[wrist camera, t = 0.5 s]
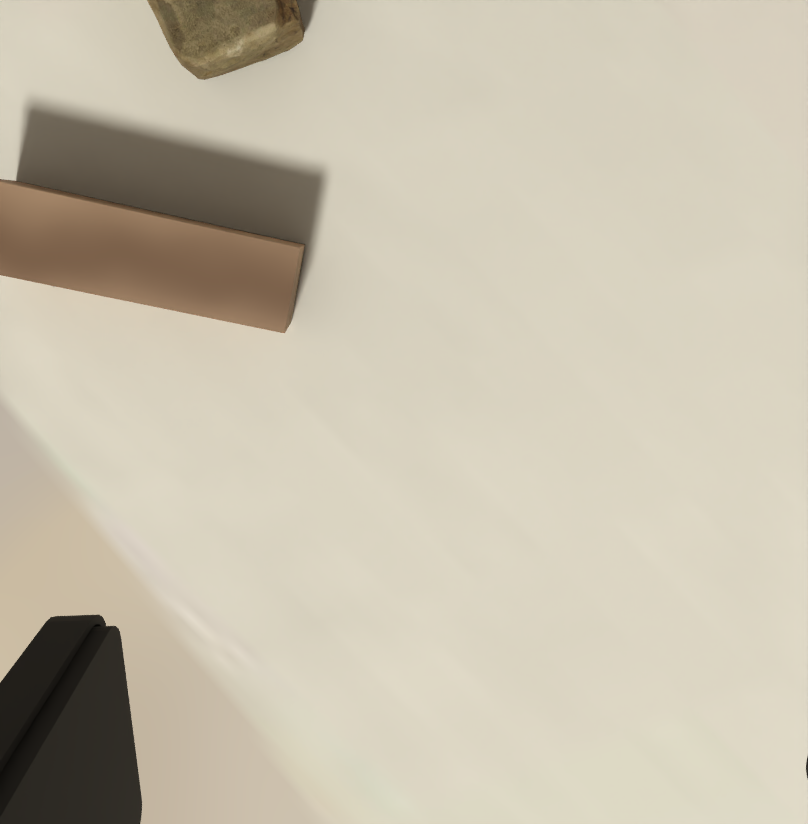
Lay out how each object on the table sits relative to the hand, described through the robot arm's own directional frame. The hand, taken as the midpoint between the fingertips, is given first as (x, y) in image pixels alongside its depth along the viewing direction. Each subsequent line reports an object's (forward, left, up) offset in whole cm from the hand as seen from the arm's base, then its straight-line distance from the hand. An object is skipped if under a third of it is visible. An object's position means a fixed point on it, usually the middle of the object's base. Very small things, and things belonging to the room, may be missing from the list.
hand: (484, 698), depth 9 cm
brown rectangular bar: (-2, -12, -29) cm, 32 cm away
